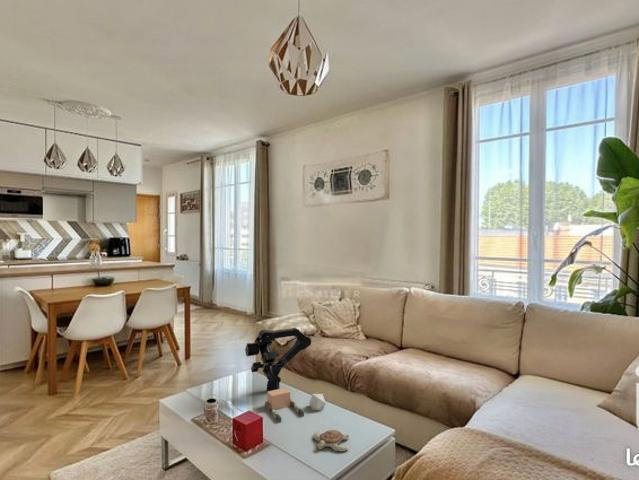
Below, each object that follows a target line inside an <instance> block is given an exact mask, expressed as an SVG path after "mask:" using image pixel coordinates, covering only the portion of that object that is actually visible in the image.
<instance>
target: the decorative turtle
mask: <svg viewBox="0 0 639 480" xmlns="http://www.w3.org/2000/svg"><path fill="white" fill-rule="evenodd" d="M312 437H313V439H314V440H315V441H318V442H317V443H316V444H317V446H316V447H317V450H322V449H324V448H329V447H330V448H331V449H333V450H335V451H339V452H344V451H347V450H349V449H350V446H349V445H339V444H340V443H341V442H342V440H348V439H350V434H347V433H346V434H343V433H342V432H340V430H339V429H330V430H329V429H328V430H326V431H324V432H322V433H321V434H320V431H319V430H318V431H316V432H314V433H313V435H312Z"/></svg>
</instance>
